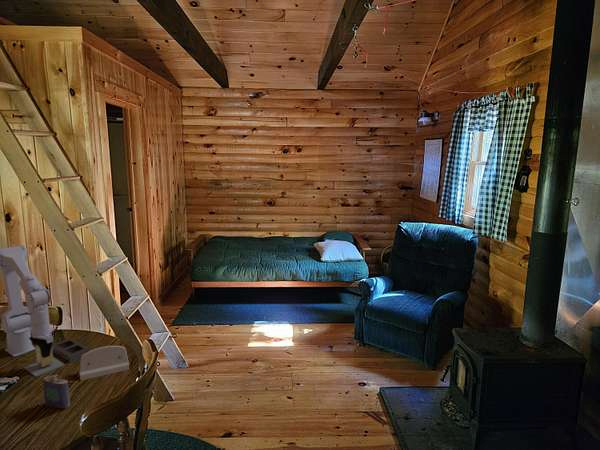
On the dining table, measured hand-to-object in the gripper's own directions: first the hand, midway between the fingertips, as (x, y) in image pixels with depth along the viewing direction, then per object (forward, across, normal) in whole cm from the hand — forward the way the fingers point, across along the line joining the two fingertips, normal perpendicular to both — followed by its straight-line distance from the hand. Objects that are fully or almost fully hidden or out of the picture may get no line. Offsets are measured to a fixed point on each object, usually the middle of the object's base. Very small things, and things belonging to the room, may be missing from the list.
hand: (43, 355), depth 145 cm
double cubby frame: (+5, +4, -11) cm, 13 cm away
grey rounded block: (+5, -20, -12) cm, 24 cm away
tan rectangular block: (+4, 0, 0) cm, 4 cm away
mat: (+5, 0, 0) cm, 5 cm away
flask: (+5, -28, +8) cm, 30 cm away
